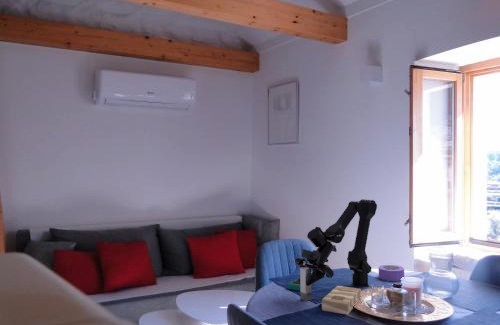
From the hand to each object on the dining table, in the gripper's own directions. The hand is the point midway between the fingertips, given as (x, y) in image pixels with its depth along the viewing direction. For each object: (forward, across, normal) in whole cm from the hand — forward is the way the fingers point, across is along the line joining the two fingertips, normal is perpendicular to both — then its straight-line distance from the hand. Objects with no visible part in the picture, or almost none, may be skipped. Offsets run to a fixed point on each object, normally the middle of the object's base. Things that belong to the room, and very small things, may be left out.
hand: (303, 284), depth 174 cm
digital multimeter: (-4, -15, +14) cm, 21 cm away
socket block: (-2, +13, +11) cm, 17 cm away
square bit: (+4, 0, +6) cm, 7 cm away
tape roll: (-34, +1, +44) cm, 56 cm away
